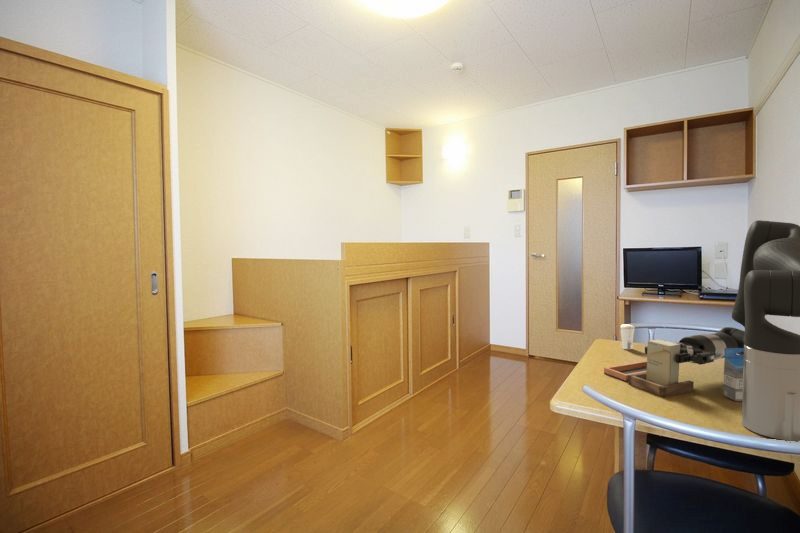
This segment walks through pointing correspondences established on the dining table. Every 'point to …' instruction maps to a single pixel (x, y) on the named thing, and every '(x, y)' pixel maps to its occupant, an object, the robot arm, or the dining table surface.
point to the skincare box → (662, 362)
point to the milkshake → (627, 336)
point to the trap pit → (626, 370)
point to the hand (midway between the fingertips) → (660, 354)
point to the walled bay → (657, 389)
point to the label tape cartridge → (733, 374)
